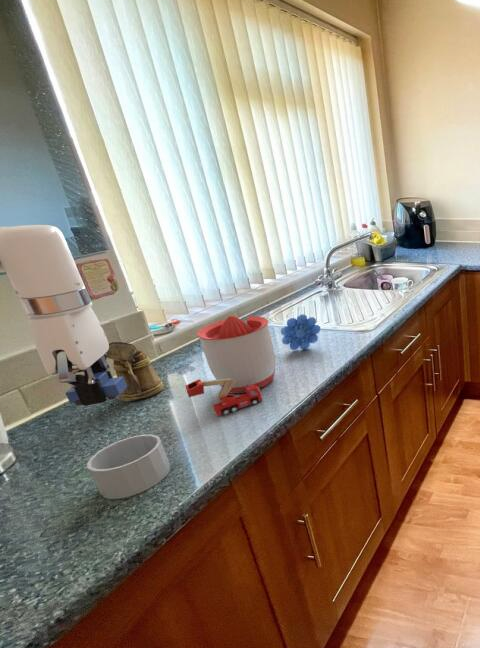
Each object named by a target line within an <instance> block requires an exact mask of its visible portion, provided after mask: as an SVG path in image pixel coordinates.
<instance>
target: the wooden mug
mask: <svg viewBox="0 0 480 648" xmlns="http://www.w3.org/2000/svg"><path fill="white" fill-rule="evenodd" d="M108 344H109V349H108V351H107V353H106V357H107V358H106V359H109V360H112V361H113V363H112V366H113V370H114V371H115V374H116V377H122V376H123V377H124V380H125V382H126V384H127V387H126V388H125V390H124V391H123V392H122V393H121V394H120V395H119V398H120V401H122V402H136V401H141V400H145V399H149V398H151V397H153V396H156V395H157V394H159V393H161V392H162V391H163V390H164V389H165V385H164V384H163V381H162V380H161V379H160V378H159V376H158V373H157V372H156V371H155V369H154V368H153V366H152V364H151V359H150V358H149V355H147V354H146V353H145V352H144V350H141V349H137V347H136V346H135V345H134V344H133V343H130V342H129V343H128V342H120V341H111V342H110V343H108Z"/></svg>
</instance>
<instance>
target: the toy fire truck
mask: <svg viewBox="0 0 480 648" xmlns="http://www.w3.org/2000/svg"><path fill="white" fill-rule="evenodd" d="M235 383H236V382H235V380H233V379H230V378H226V379H221V380H216V379H213V380H212V379H211V380H203V381H202V380H201V379H200V378H198V379H195V380H193V381H192V382H189V383H187V384H186V385H185V390H186V393H187V396H188V398H192V397H195V396H199V395H203V394H204V393H205V388H204V387H212V386H220V385H221V384H223V386H222V387H221V388H220V390H219V393H218V394H217V396H216V397H217V400H218V401H219V402H217V403H216V402H215V403H213V404H212V409H213V410H214V413H215V415H216V416H217V417H219V416H222V415H225V416H226V415H229V414H230V412H232V413H235V412H237V411H238V410H239V409H243V408H245V407H248V406H251V405H257V404H258V403H260V402H262V401H263V396H262V391H261V388H258V386H256V385H246V386H245V390H246V392H245V393H243V394H240V395H238V396H235V393H230V390H231V389H232V387H233V386H234V384H235Z"/></svg>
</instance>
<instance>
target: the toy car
mask: <svg viewBox="0 0 480 648" xmlns="http://www.w3.org/2000/svg"><path fill="white" fill-rule="evenodd" d="M82 375H83V376H85V374H82ZM93 376H94V378H95V382H96V381H99V383H100V385H101V387H102V389H103V392H104V394H105V396H106V398H107V399H108V400H115V399H116V398H117V396H120V394H121V393H122V392H123V391H124V390H125V388H126V387H127V384H126V382H125V380H124V377H123V376H122V377H117V376H116V377H113V378H110V379H109V377H108V374H107V372H106V371H105V372H98V373H93ZM64 394H65V395H66V398H67V400H68V402H69V404H71V405H72V404H75V405H76V406H83V405H82V404H81V401H80V399H79V397H78V395H77V393H76V391H75V389H74V388H72V387H70V388H69V389H68V390H67V391H66V392H64Z"/></svg>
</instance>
